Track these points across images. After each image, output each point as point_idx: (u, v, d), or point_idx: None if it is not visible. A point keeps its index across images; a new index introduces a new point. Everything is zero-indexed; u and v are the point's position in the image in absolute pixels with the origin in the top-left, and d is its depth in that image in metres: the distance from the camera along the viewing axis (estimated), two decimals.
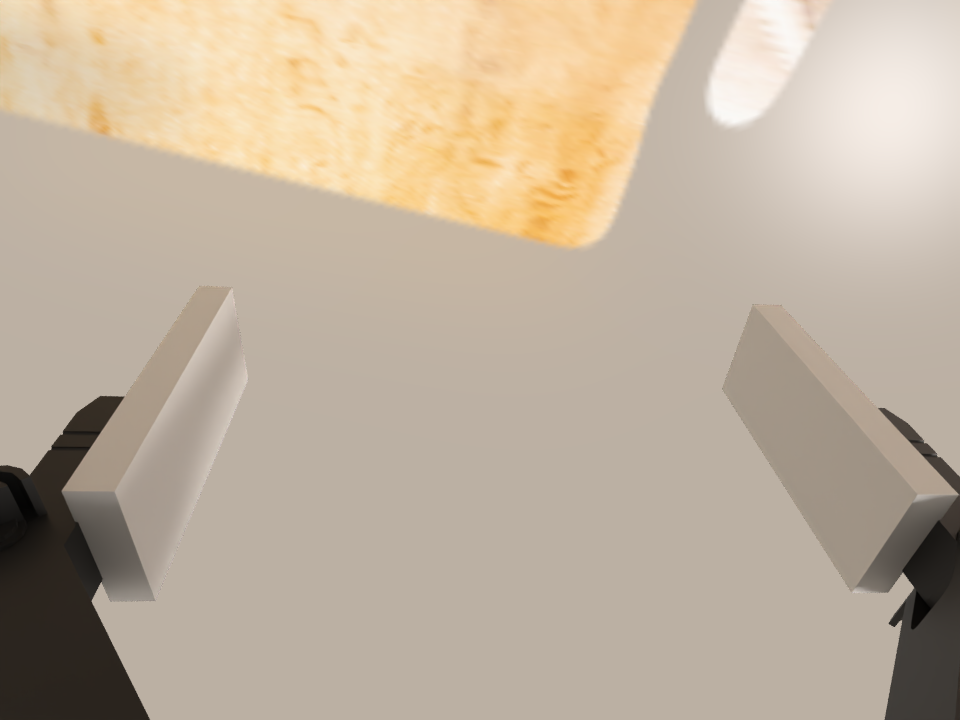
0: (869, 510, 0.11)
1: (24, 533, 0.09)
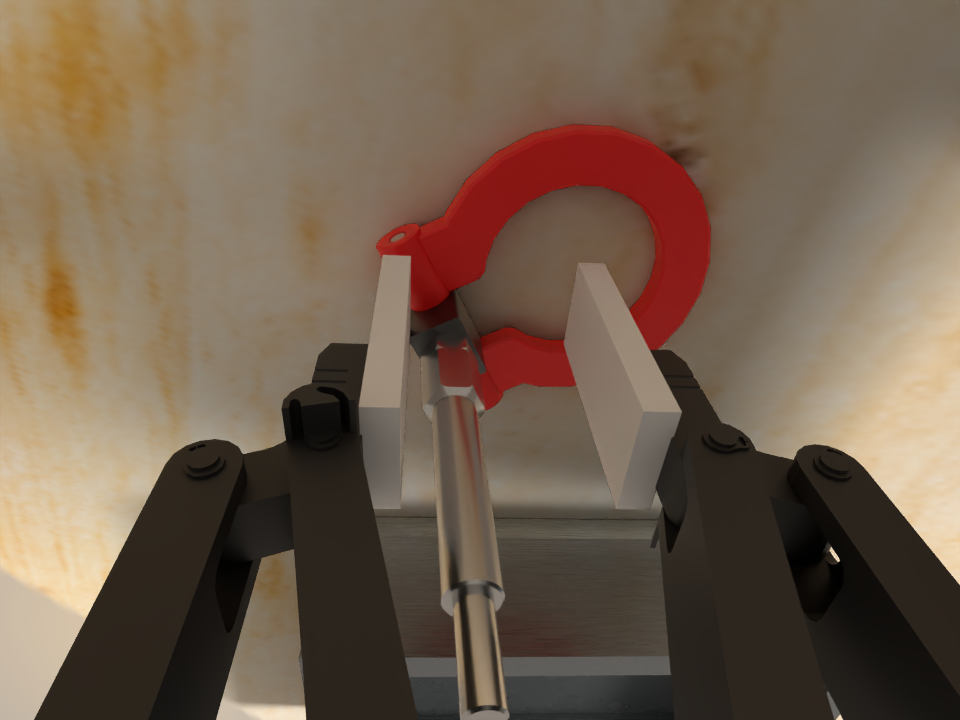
0: (624, 432, 0.13)
1: (339, 443, 0.11)
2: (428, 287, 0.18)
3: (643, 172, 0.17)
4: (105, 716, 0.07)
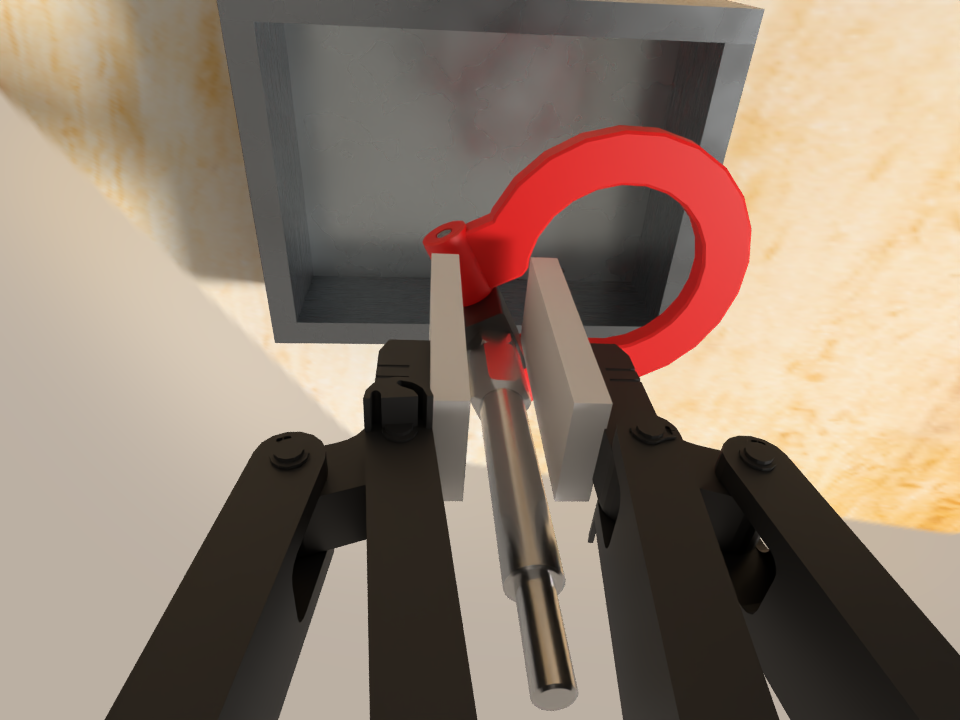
0: (561, 424, 0.13)
1: (414, 436, 0.11)
2: (472, 283, 0.18)
3: (688, 173, 0.17)
4: (186, 692, 0.07)
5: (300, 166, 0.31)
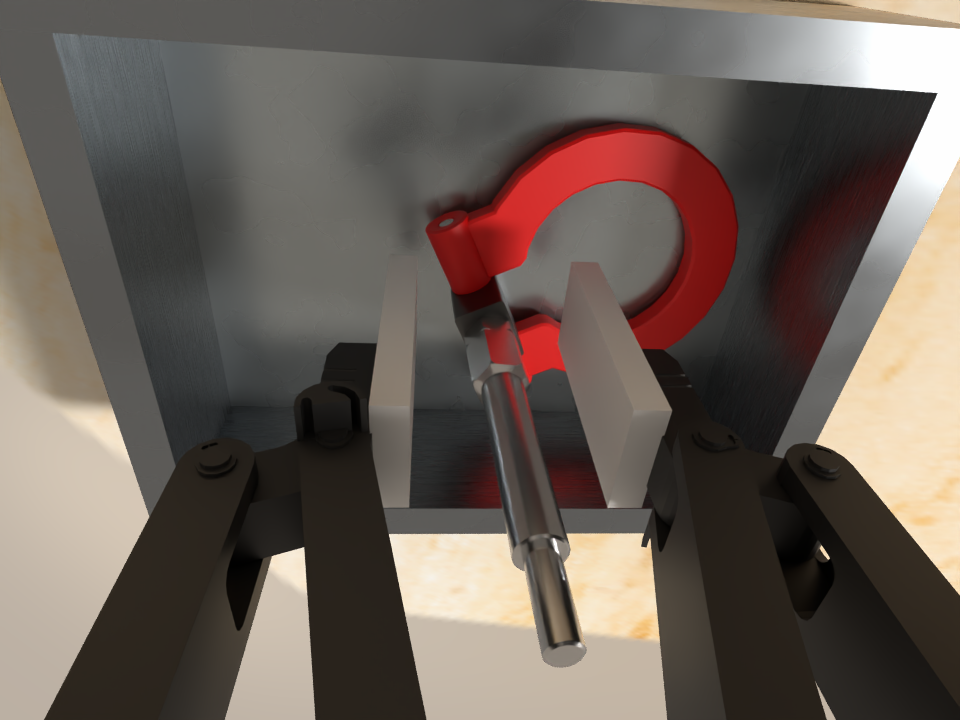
0: (615, 431, 0.13)
1: (350, 441, 0.11)
2: (473, 271, 0.19)
3: (681, 171, 0.18)
4: (117, 712, 0.07)
5: (200, 257, 0.19)
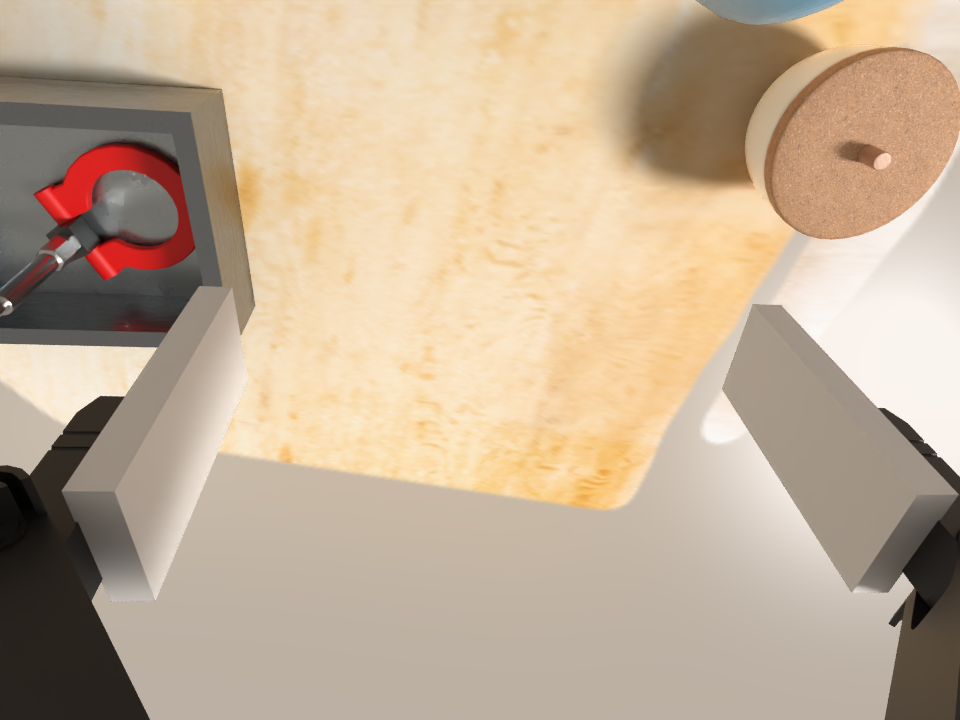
0: (869, 510, 0.11)
1: (24, 533, 0.09)
2: (59, 213, 0.40)
3: (149, 165, 0.39)
4: None
5: None
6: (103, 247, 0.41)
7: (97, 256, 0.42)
